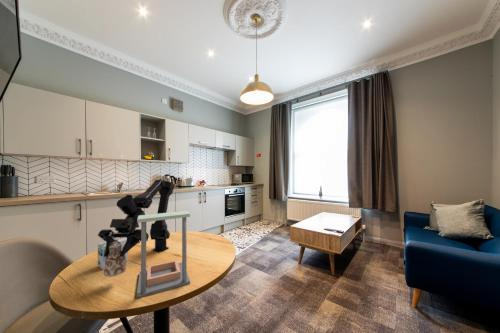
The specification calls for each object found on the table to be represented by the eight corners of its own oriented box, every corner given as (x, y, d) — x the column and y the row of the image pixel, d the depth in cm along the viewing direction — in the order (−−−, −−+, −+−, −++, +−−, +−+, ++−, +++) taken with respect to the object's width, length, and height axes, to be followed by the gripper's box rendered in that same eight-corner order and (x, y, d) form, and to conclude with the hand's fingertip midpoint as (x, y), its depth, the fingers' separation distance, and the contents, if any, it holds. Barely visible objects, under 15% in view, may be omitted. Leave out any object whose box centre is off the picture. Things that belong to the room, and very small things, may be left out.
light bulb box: (102, 270, 84) (103, 246, 85) (96, 266, 88) (97, 243, 88) (128, 260, 94) (128, 239, 94) (121, 257, 97) (122, 236, 98)
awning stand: (139, 274, 81) (140, 210, 82) (183, 264, 89) (183, 206, 90) (136, 298, 65) (137, 219, 66) (190, 283, 73) (190, 213, 74)
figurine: (101, 278, 69) (101, 245, 69) (107, 269, 75) (107, 239, 76) (124, 274, 72) (124, 242, 72) (127, 265, 78) (128, 236, 79)
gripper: (101, 210, 78) (75, 247, 67) (144, 210, 78) (126, 247, 66) (115, 223, 86) (94, 259, 75) (155, 223, 85) (140, 259, 74)
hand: (113, 256), depth 72 cm, fingers closed on figurine, 6 cm apart
